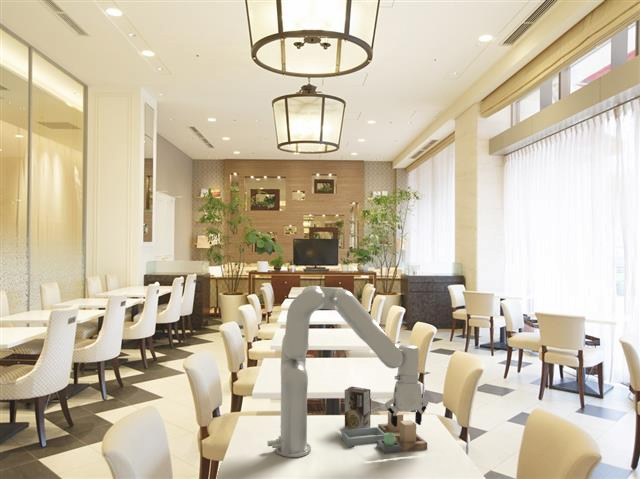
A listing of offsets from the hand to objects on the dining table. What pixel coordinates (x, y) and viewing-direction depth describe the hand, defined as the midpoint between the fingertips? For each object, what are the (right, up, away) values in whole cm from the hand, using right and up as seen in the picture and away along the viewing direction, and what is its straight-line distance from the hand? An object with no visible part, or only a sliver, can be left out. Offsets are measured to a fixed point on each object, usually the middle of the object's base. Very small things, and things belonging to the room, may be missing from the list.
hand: (406, 424), depth 182 cm
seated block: (-2, -8, +10) cm, 13 cm away
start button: (-7, -7, -4) cm, 11 cm away
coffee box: (-17, -9, +17) cm, 26 cm away
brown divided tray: (-1, -8, +5) cm, 10 cm away
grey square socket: (-7, -8, -4) cm, 11 cm away
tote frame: (-15, -8, +5) cm, 18 cm away
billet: (+1, -7, 0) cm, 7 cm away
